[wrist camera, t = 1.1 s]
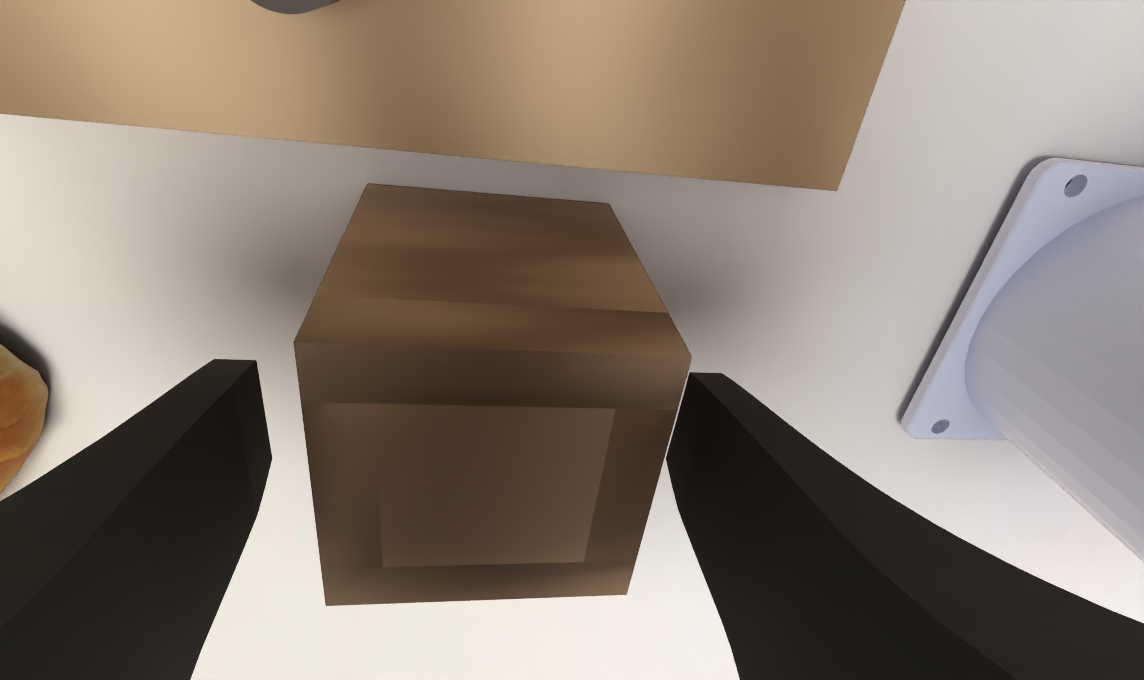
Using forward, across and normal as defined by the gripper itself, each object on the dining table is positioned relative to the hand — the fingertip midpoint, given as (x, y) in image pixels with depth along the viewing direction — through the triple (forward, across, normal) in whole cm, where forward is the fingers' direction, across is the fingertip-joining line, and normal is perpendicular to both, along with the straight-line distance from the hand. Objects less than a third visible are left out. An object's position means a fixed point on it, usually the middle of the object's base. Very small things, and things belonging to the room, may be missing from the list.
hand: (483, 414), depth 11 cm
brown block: (+4, 0, 0) cm, 4 cm away
